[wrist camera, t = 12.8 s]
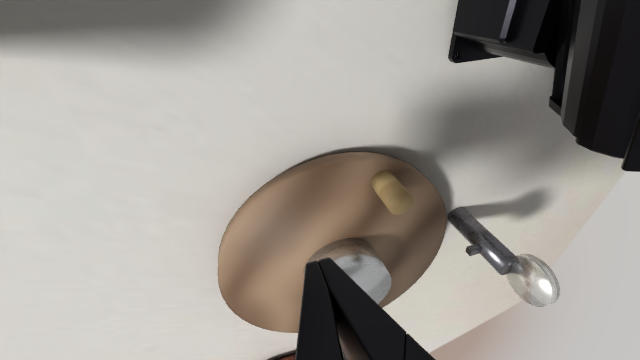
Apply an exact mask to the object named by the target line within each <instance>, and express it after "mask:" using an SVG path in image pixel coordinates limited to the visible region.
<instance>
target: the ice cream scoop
mask: <svg viewBox="0 0 640 360" xmlns="http://www.w3.org/2000/svg"><path fill="white" fill-rule="evenodd" d="M448 221H449V222H450V223H451V224H452V225H453V226H454V227H455V228H456V229H457V230H458V231H459V232H460V233H461V234H462V235H463V236H464V237H465V238H466V239H467V240H468V241H469V242H470V244H471V246H468V247H467V248H466V252H467V253H468V255H469V256H472V255H475V254H479V253H480V254H481V255H482V256H483V257H484V258H485V259H486V260H487V261H488V262H489V263H490V264H491V265H492V266H493V267H494V268H495V269H496V270H497V272H498V273H499V274H501V275H505V274H506V275H507V278H508V281H509V283H510V285H511V286H512V288H513V289H514V291H515V292H516V293H517V294H518V295H519V296H520V297H521V298H522V299H523V300H524V301H526V302H527V303H529V304H531V305H534V306H537V307H542V306H546V305H548V304H552V303H554V302H556V301H557V300H558V298H559V295H560V288H559V283H558V280H557V278H556V276H555V274H554V273H553V271H552V270H551V269H550V267H549V266H548V265H547V264H546V263H545V262H543V261H542V260H541V259H539V258H538V257H536V256H534V255H531V254H520V255H517V256H515V255H514V254H513V253H512V252H511V251H510V250H509V249H508V248H506V247H505V246H504V245H503V244H502V243H501V242H500V241H499V240H498V239H497V238H496V237H495V236H493V235H492V234H491V233H490V232H489V231H488V230H487V229H486V228H485V227H484V226H483V225H481V224H480V223H479V222H478V221H477V220H476V219H475V218H474V217H473V216H472V215H471V214H469V213H468V212H467V211H466V210H465V209H464V208H462V207H459V208H456V209H454V210H453V211H452V212H451V213H450V214H449V216H448Z"/></svg>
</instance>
